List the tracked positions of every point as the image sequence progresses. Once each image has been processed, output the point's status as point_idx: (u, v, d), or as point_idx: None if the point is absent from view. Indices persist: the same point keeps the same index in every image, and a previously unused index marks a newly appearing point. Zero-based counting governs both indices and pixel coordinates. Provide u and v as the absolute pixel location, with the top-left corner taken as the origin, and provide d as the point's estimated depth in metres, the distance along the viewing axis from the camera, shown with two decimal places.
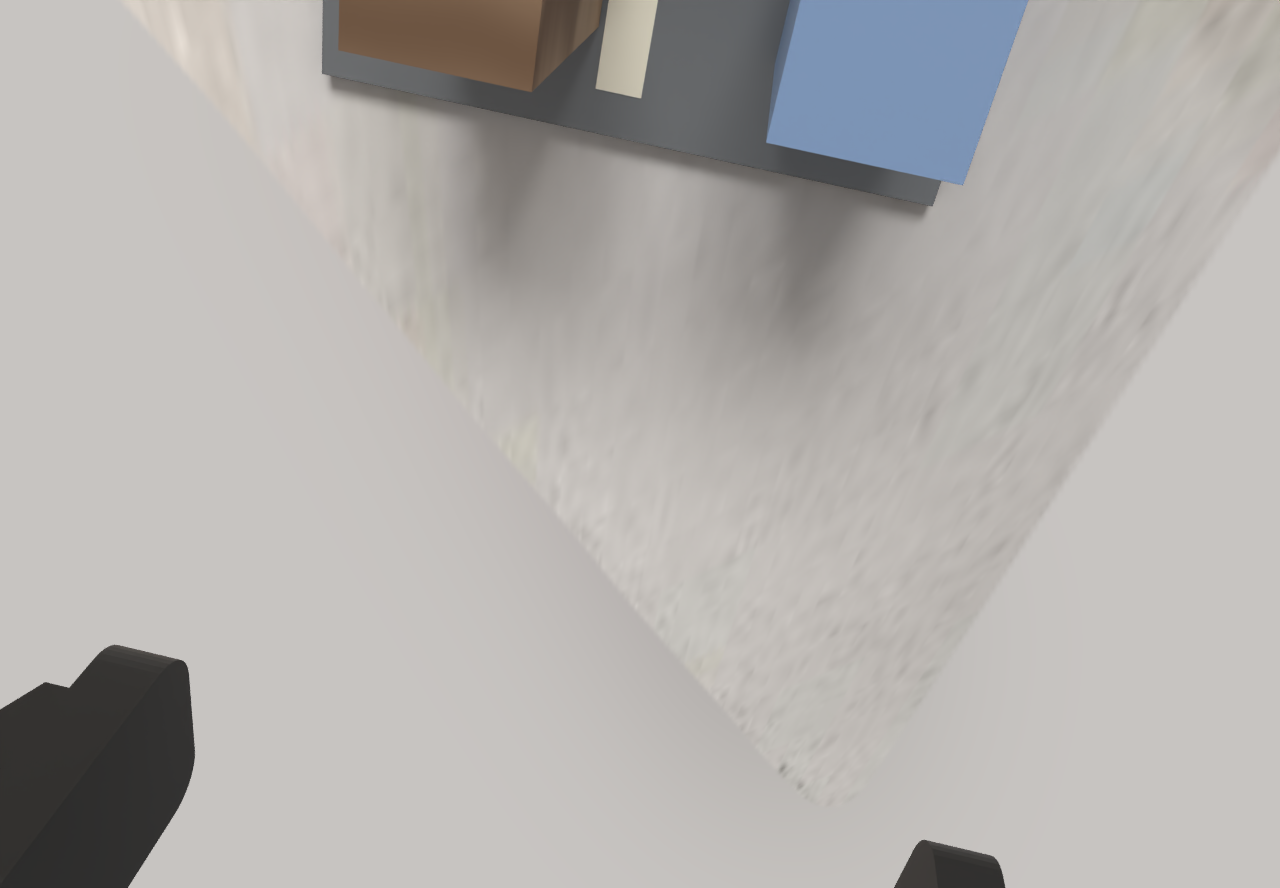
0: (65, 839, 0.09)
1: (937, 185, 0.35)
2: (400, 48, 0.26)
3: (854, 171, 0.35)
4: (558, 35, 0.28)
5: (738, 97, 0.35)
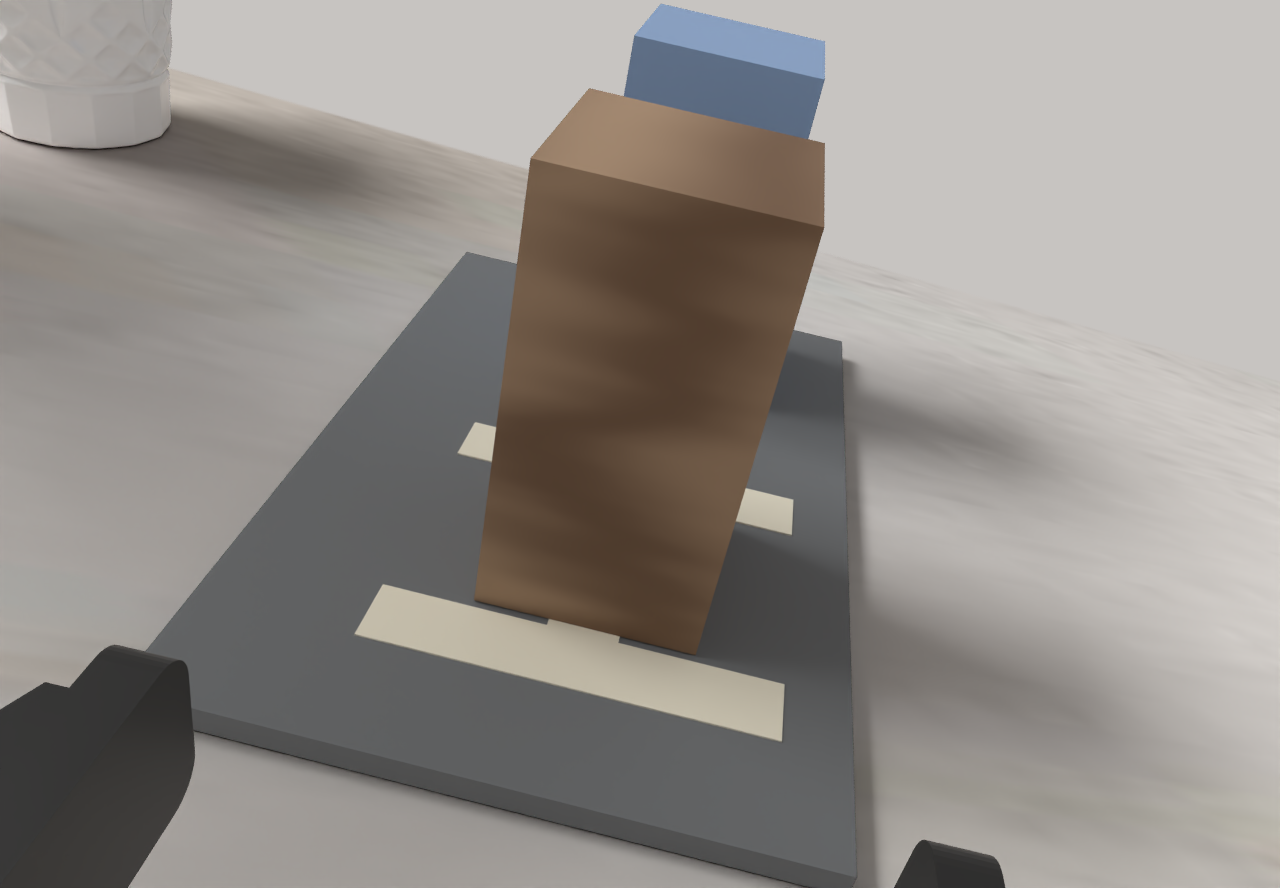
0: (66, 838, 0.09)
1: (821, 337, 0.37)
2: (805, 191, 0.18)
3: (825, 375, 0.34)
4: None
5: (773, 433, 0.31)
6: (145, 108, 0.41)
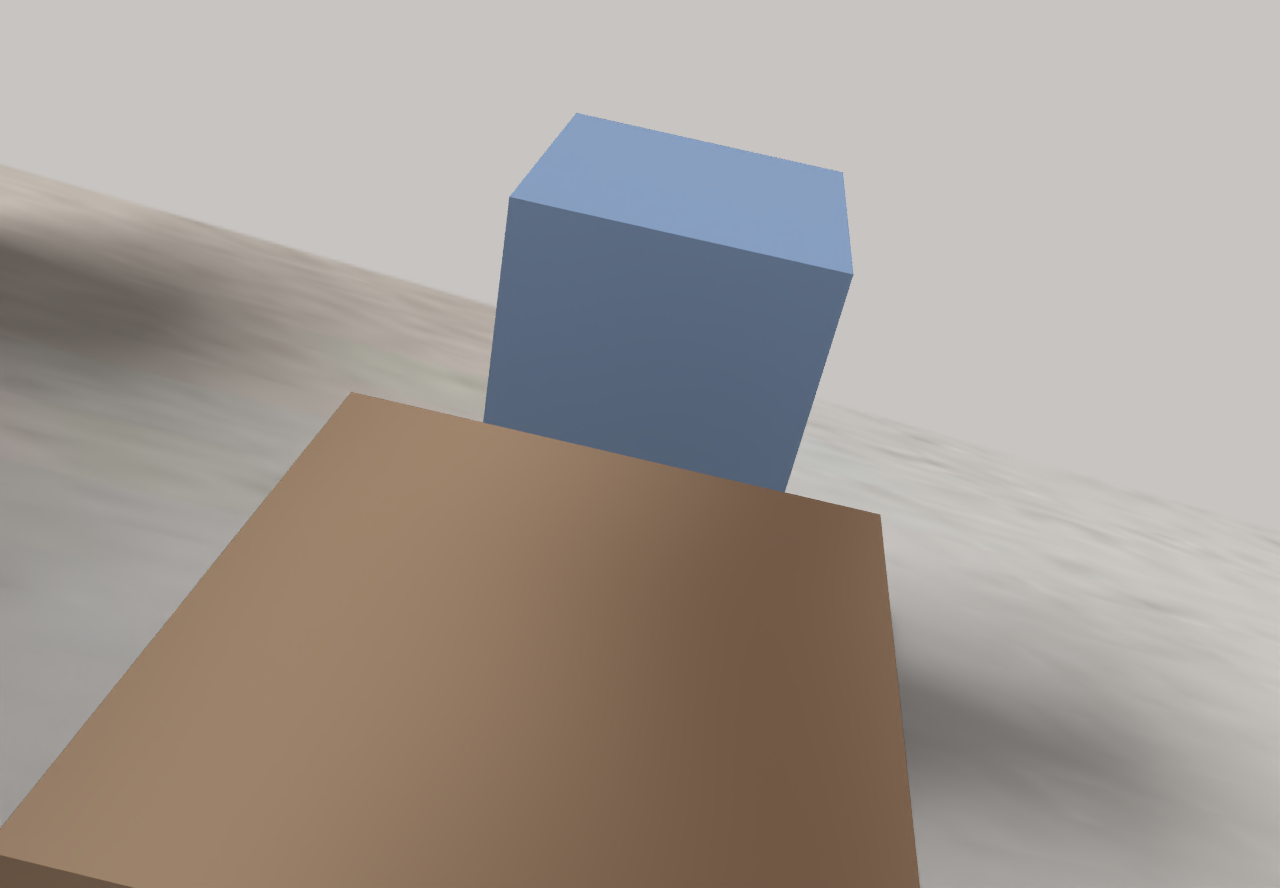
0: None
1: None
2: (857, 808, 0.06)
3: None
4: None
5: None
6: None
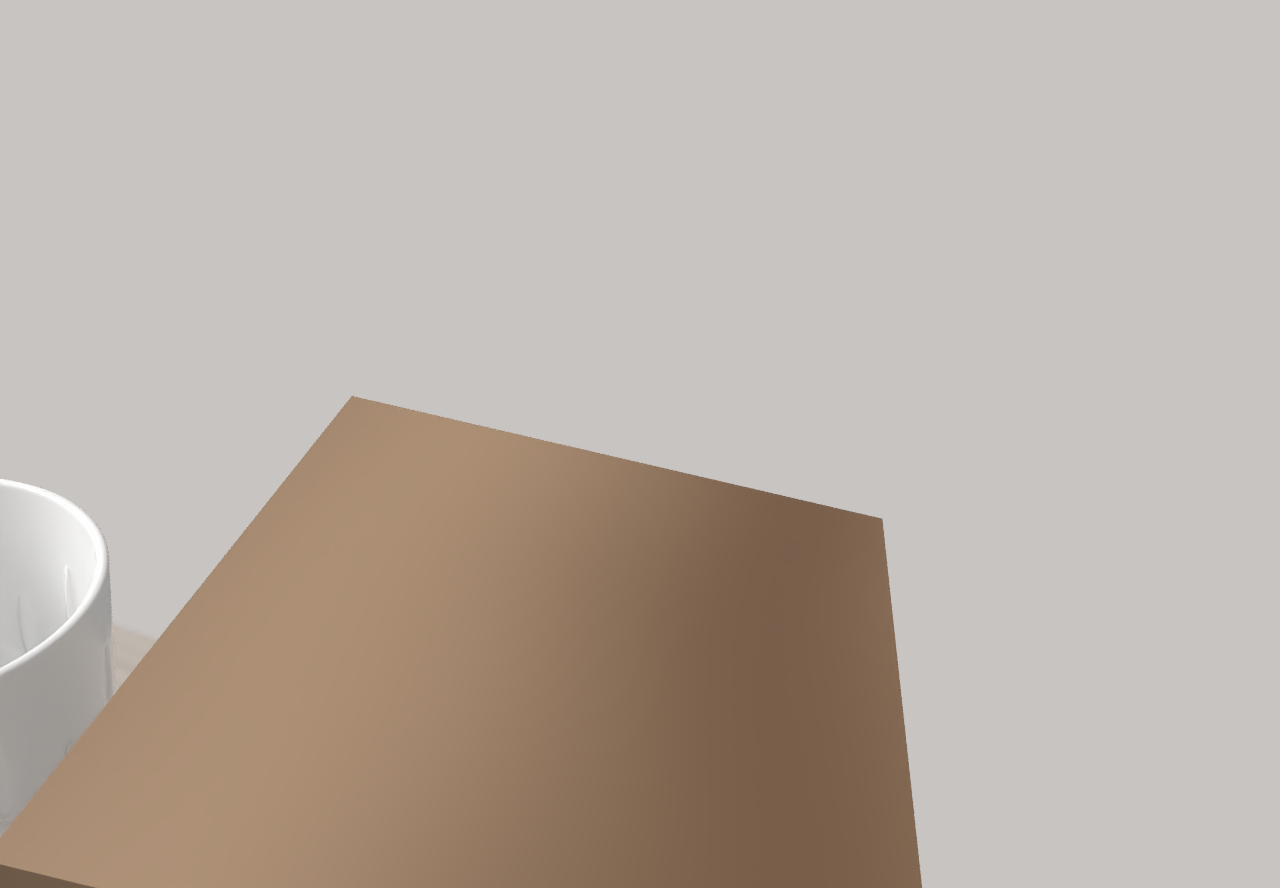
0: None
1: None
2: (859, 814, 0.06)
3: None
4: None
5: None
6: None
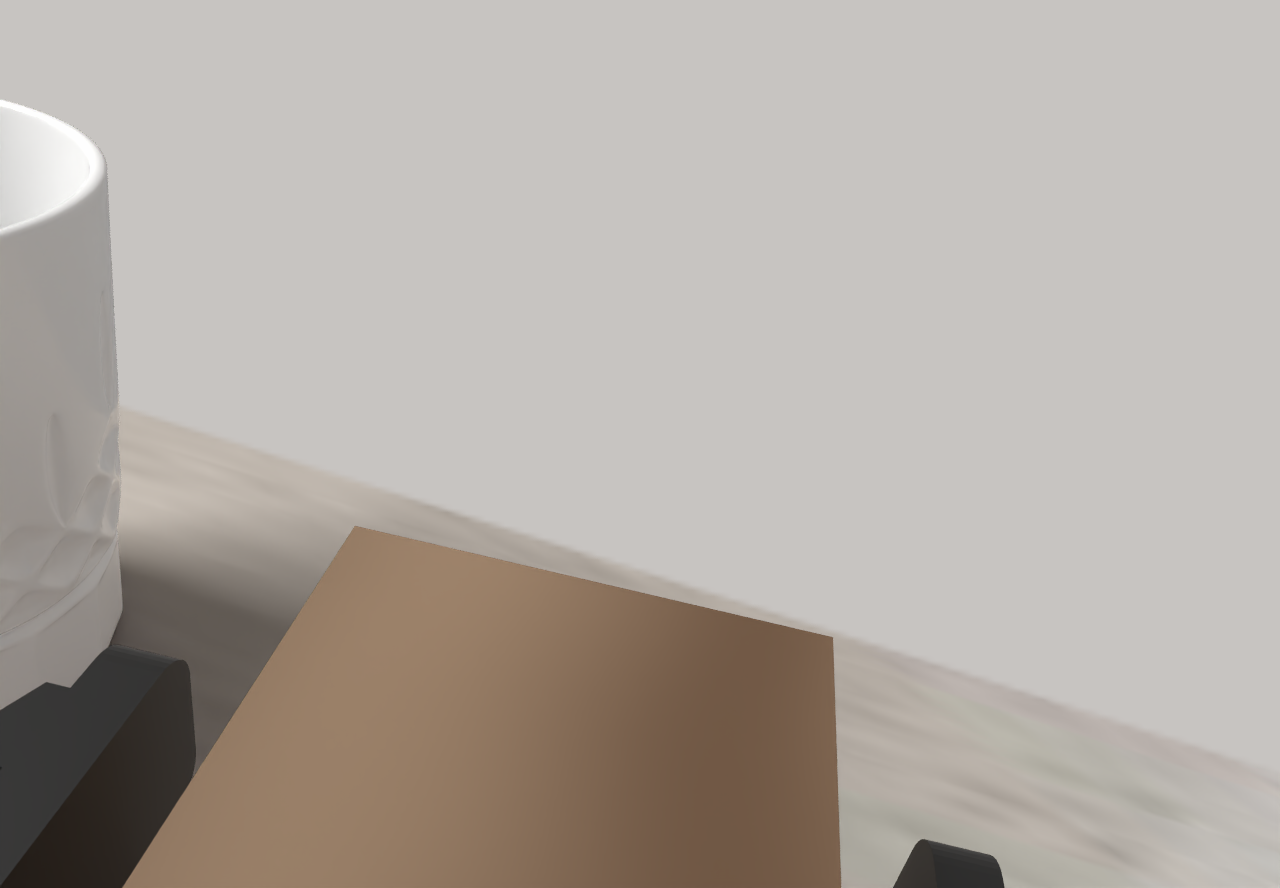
0: (66, 838, 0.09)
1: None
2: None
3: None
4: None
5: None
6: (65, 644, 0.19)
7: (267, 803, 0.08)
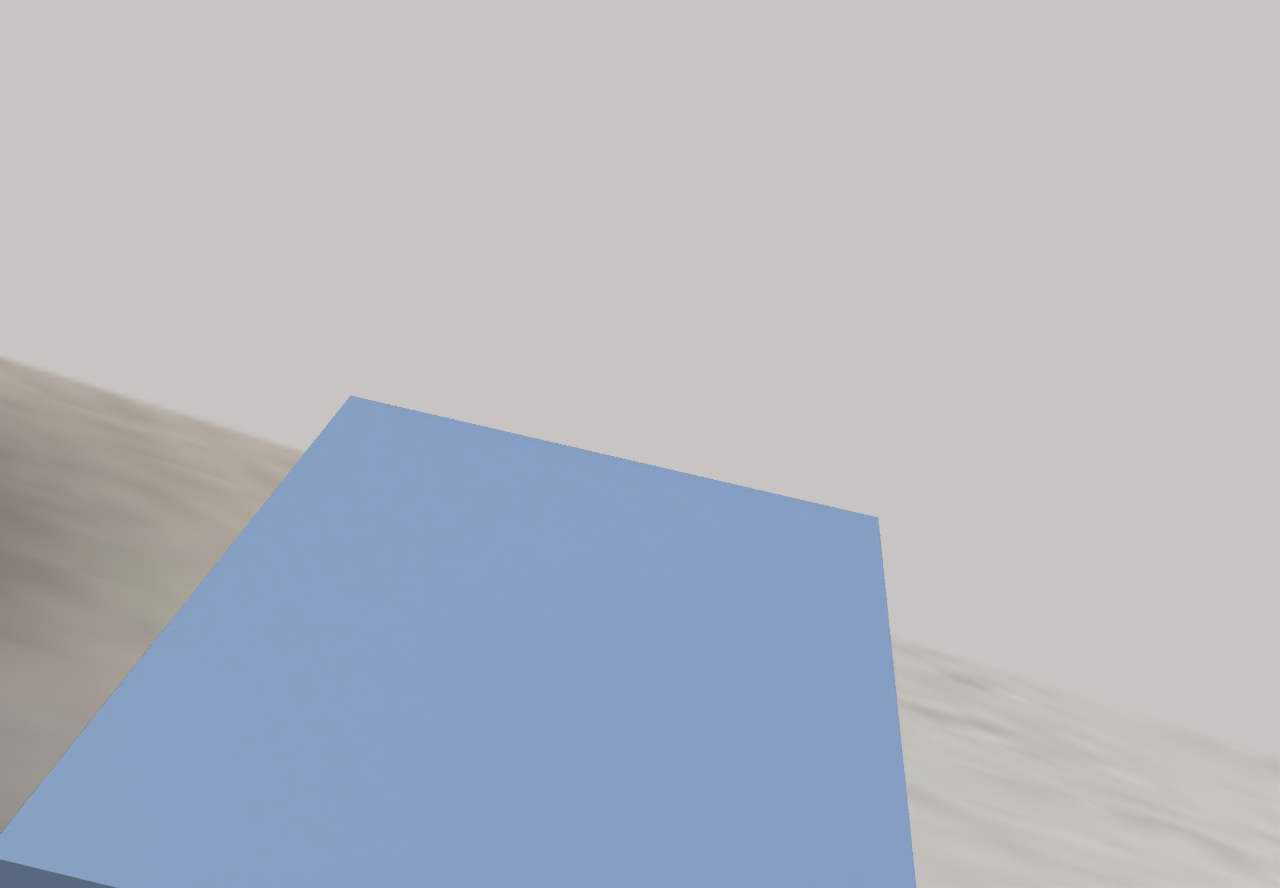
0: None
1: None
2: None
3: None
4: None
5: None
6: None
7: None
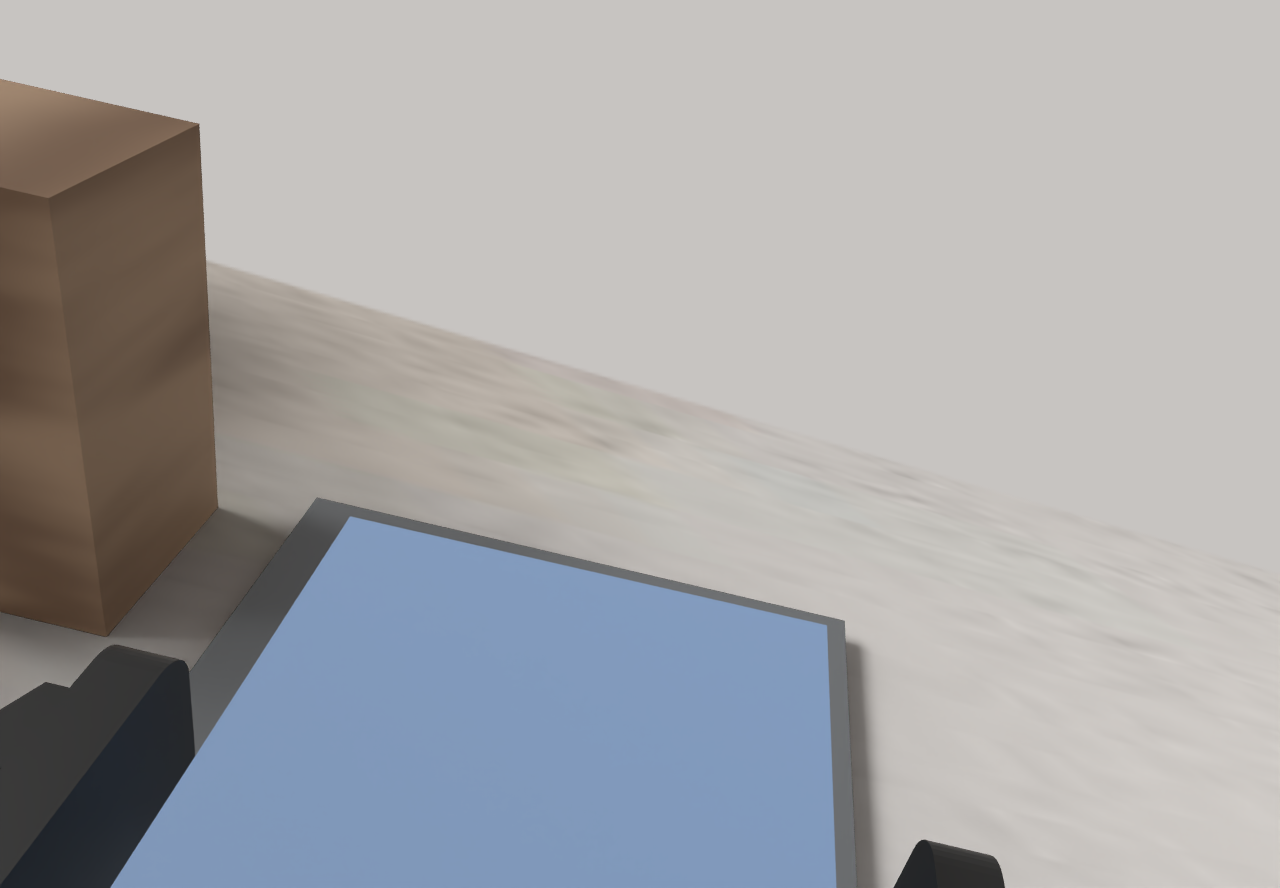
0: (66, 837, 0.09)
1: (816, 616, 0.26)
2: (84, 166, 0.18)
3: None
4: None
5: None
6: None
7: None
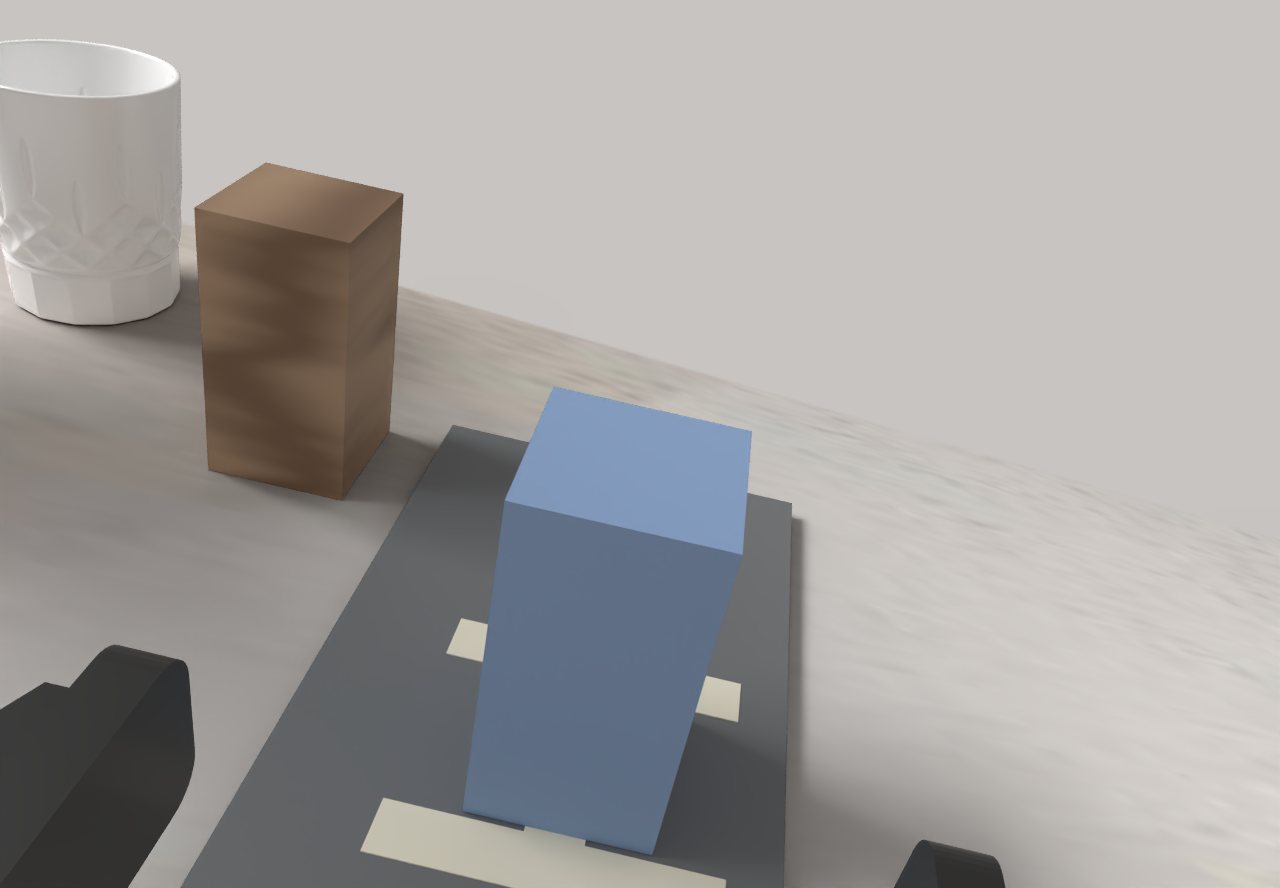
0: (66, 838, 0.09)
1: (773, 500, 0.41)
2: (357, 223, 0.33)
3: (775, 543, 0.39)
4: None
5: (725, 611, 0.35)
6: (158, 285, 0.45)
7: (238, 195, 0.33)
